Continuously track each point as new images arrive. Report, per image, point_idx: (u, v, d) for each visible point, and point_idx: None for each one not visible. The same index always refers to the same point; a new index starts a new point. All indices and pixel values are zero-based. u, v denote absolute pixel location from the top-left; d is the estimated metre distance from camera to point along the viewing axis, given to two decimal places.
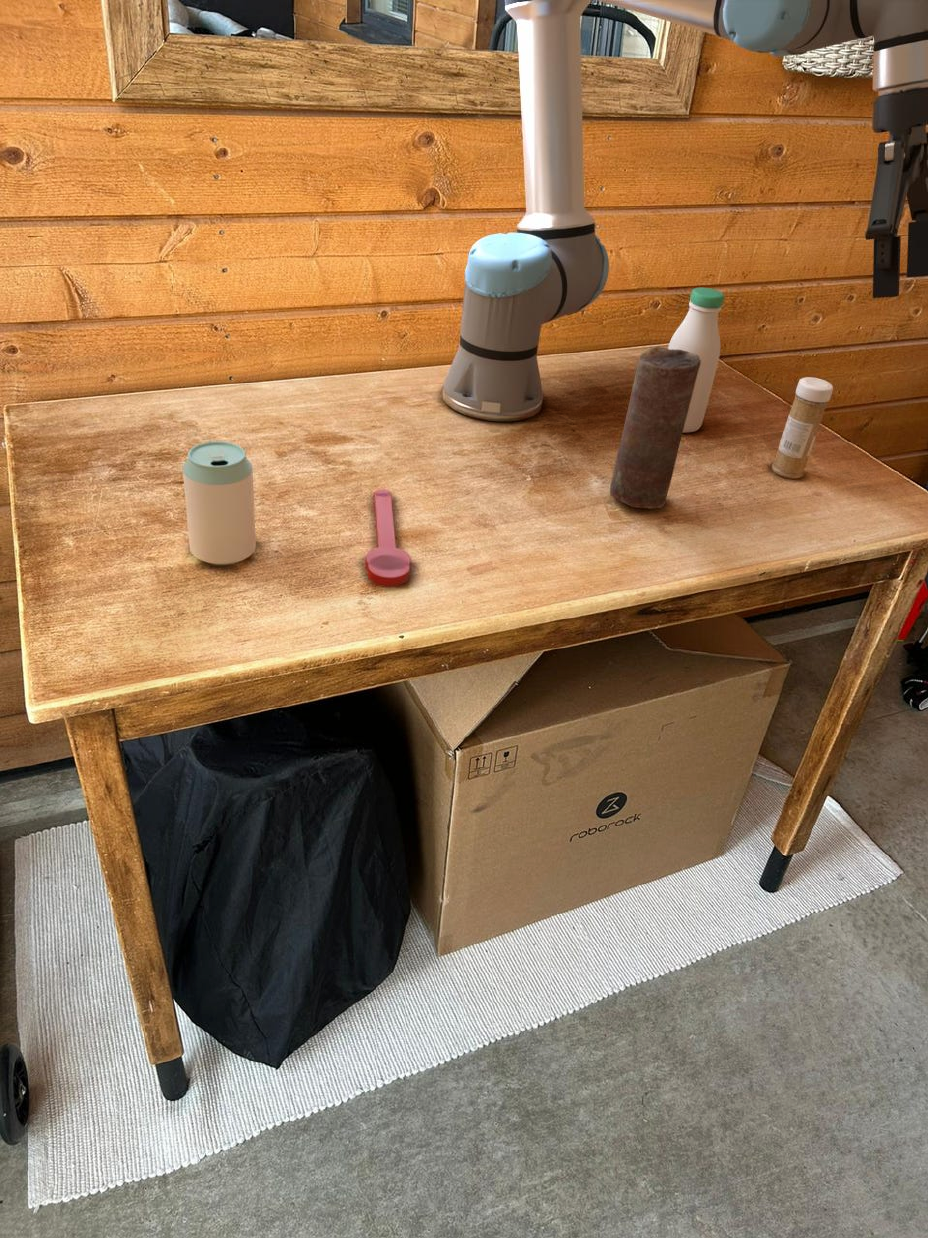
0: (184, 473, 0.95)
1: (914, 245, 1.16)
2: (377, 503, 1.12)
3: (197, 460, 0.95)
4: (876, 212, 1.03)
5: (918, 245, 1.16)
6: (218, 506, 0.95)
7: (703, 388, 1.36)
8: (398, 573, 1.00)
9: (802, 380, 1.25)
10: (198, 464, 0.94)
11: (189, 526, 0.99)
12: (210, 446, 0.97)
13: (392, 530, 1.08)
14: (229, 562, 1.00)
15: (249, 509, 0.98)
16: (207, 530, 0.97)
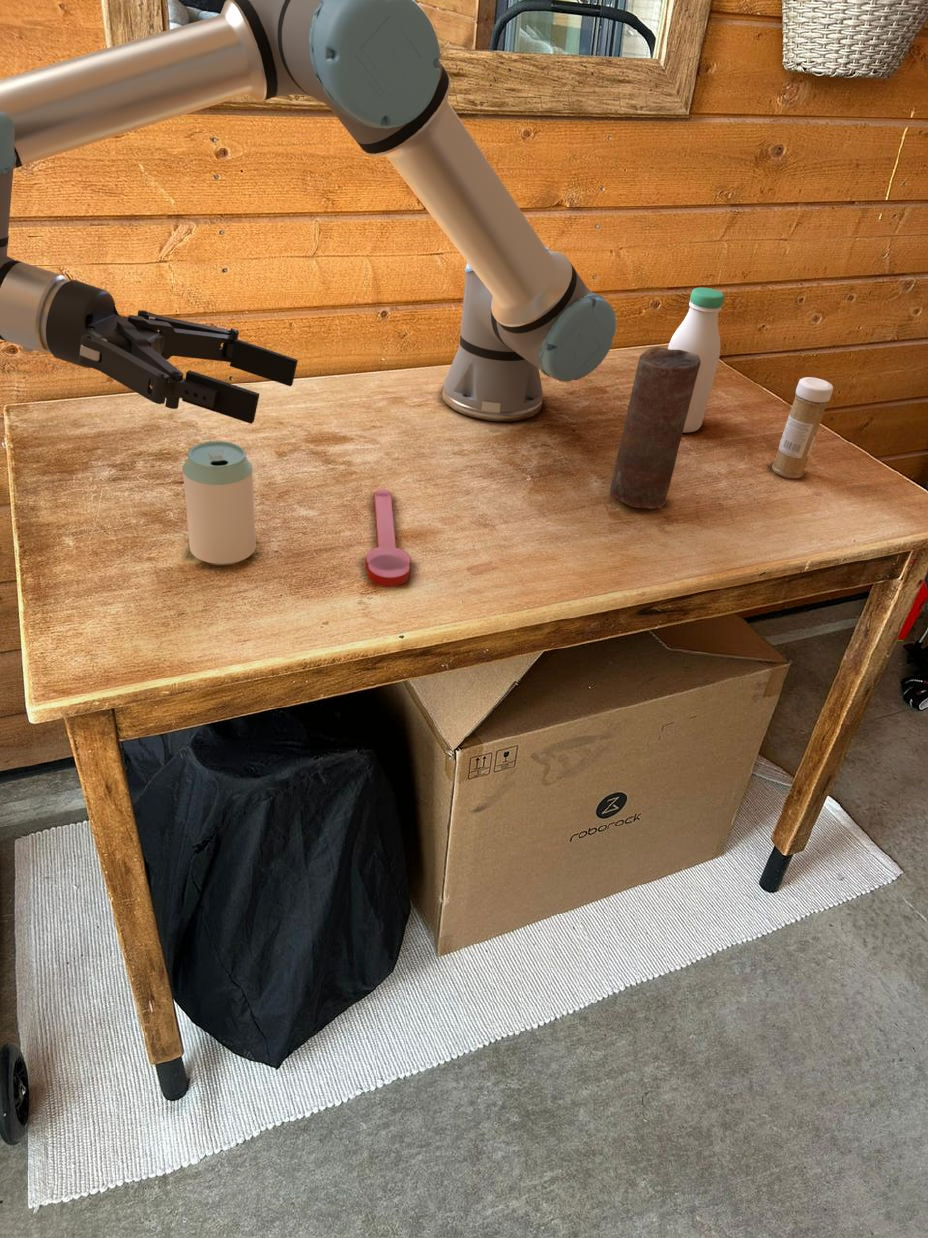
0: (184, 473, 0.95)
1: None
2: (377, 503, 1.12)
3: (197, 460, 0.95)
4: None
5: None
6: (218, 506, 0.95)
7: (703, 388, 1.36)
8: (398, 573, 1.00)
9: (802, 380, 1.25)
10: (198, 464, 0.94)
11: (189, 526, 0.99)
12: (210, 446, 0.97)
13: (392, 530, 1.08)
14: (229, 562, 1.00)
15: (249, 509, 0.98)
16: (207, 530, 0.97)
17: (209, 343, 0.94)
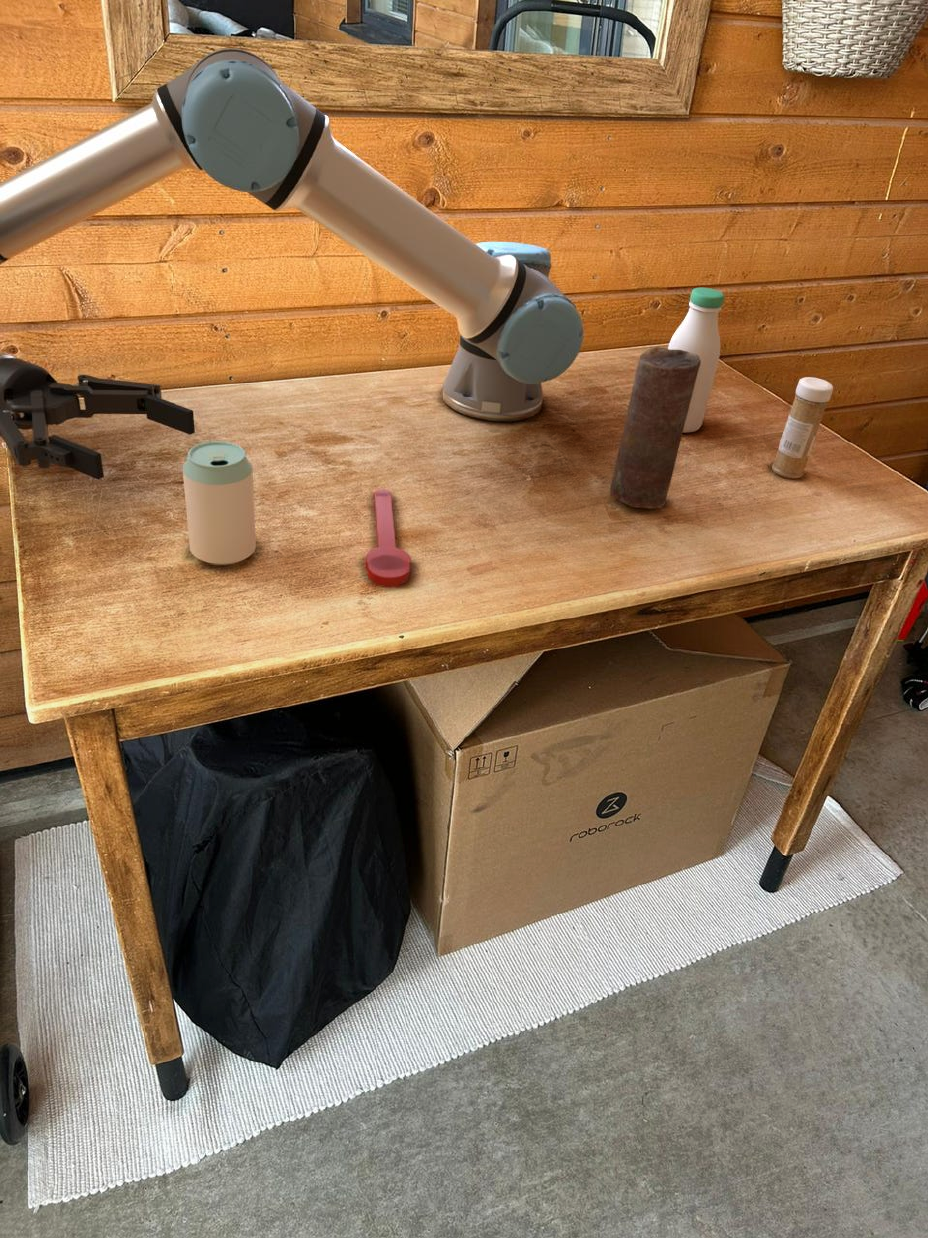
0: (184, 473, 0.95)
1: None
2: (377, 503, 1.12)
3: (197, 460, 0.95)
4: None
5: None
6: (218, 506, 0.95)
7: (703, 388, 1.36)
8: (398, 573, 1.00)
9: (802, 380, 1.25)
10: (198, 464, 0.94)
11: (189, 526, 0.99)
12: (210, 446, 0.97)
13: (392, 530, 1.08)
14: (229, 562, 1.00)
15: (249, 509, 0.98)
16: (207, 530, 0.97)
17: (125, 400, 1.07)
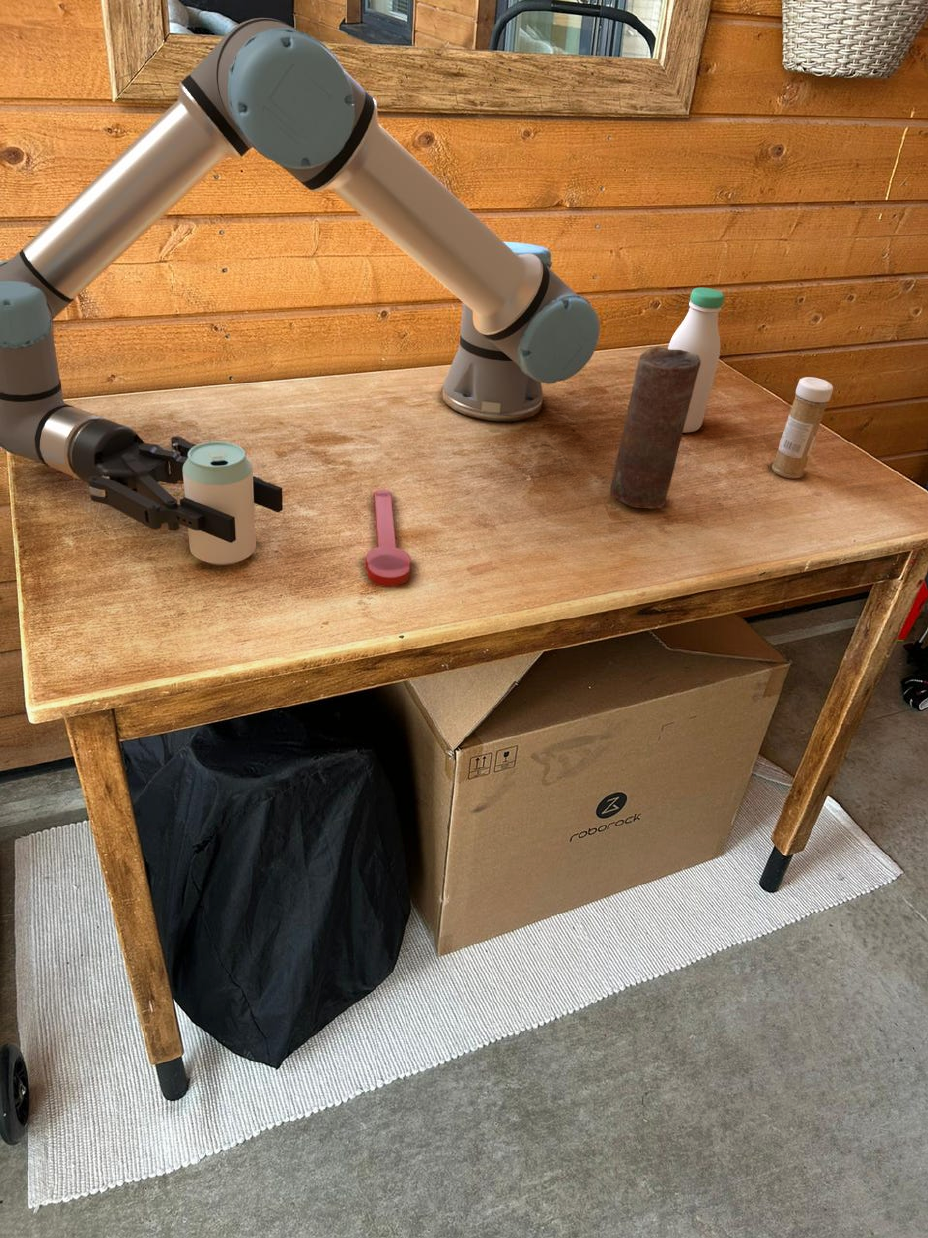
0: (184, 473, 0.95)
1: None
2: (377, 503, 1.12)
3: (197, 460, 0.95)
4: None
5: None
6: (218, 506, 0.95)
7: (703, 388, 1.36)
8: (398, 573, 1.00)
9: (802, 380, 1.25)
10: (198, 464, 0.94)
11: None
12: (210, 446, 0.97)
13: (392, 530, 1.08)
14: (229, 562, 1.00)
15: (249, 509, 0.98)
16: None
17: None
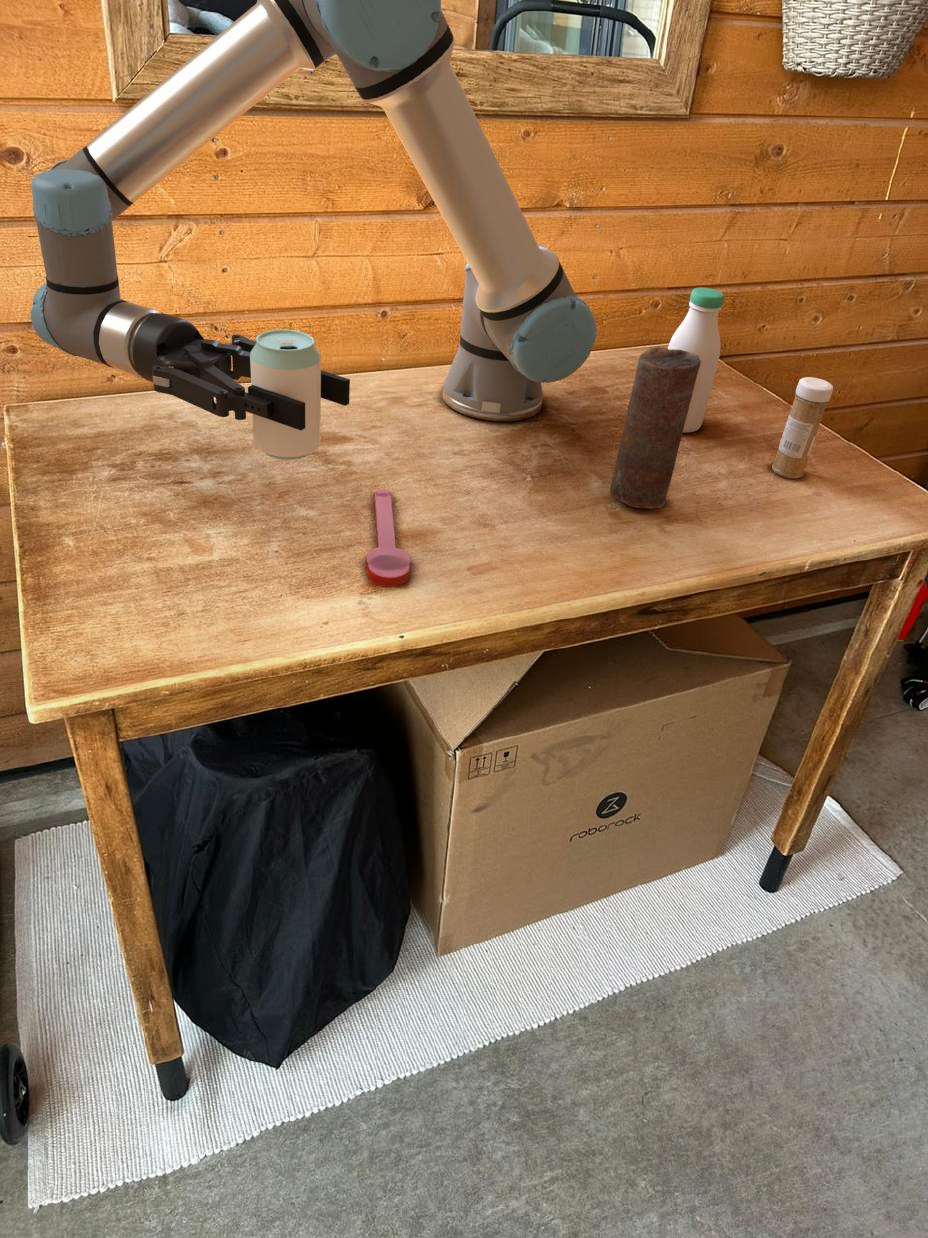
0: (252, 359, 0.93)
1: None
2: (377, 503, 1.12)
3: (266, 345, 0.92)
4: None
5: None
6: (287, 394, 0.93)
7: (703, 388, 1.36)
8: (398, 573, 1.00)
9: (802, 380, 1.25)
10: (268, 348, 0.91)
11: (255, 417, 0.96)
12: (277, 334, 0.95)
13: (392, 530, 1.08)
14: (295, 456, 0.97)
15: (316, 399, 0.96)
16: None
17: None
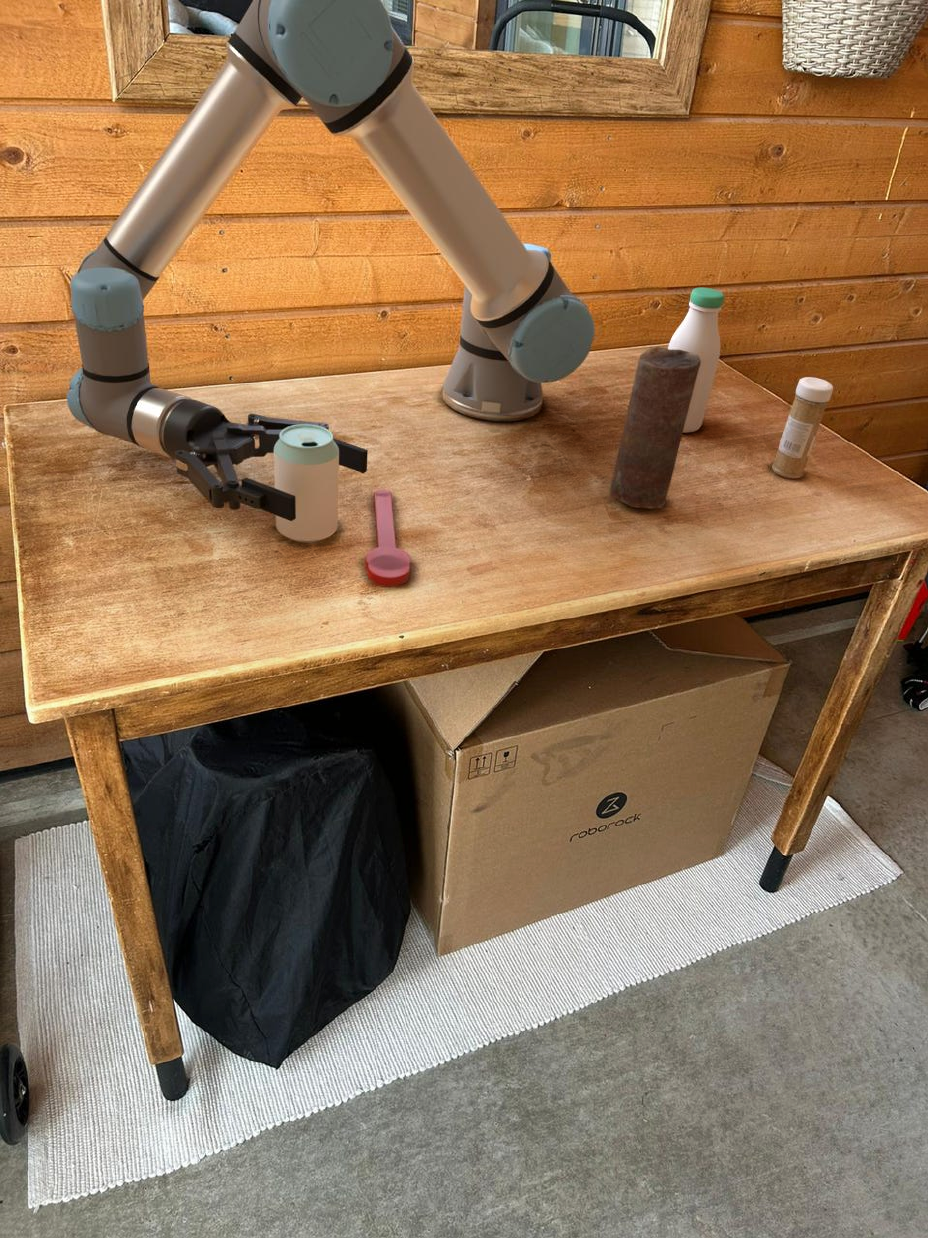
0: (276, 454, 1.00)
1: None
2: (377, 503, 1.12)
3: (289, 441, 1.00)
4: None
5: None
6: (308, 486, 1.01)
7: (703, 388, 1.36)
8: (398, 573, 1.00)
9: (802, 380, 1.25)
10: (290, 445, 0.99)
11: None
12: (298, 429, 1.03)
13: (392, 530, 1.08)
14: (315, 539, 1.05)
15: (335, 488, 1.03)
16: (296, 508, 1.02)
17: None
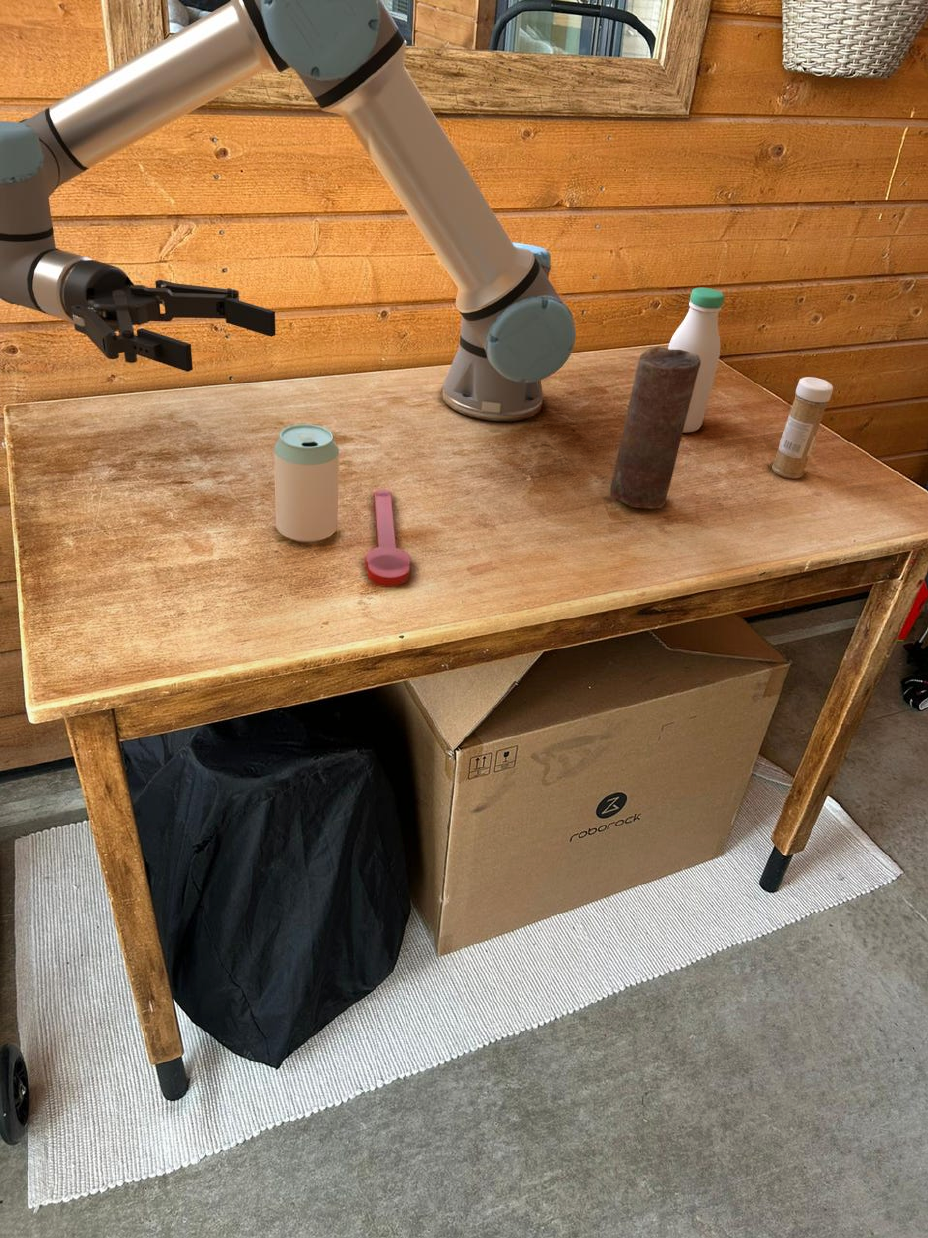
0: (276, 454, 1.00)
1: None
2: (377, 503, 1.12)
3: (289, 441, 1.00)
4: None
5: None
6: (308, 486, 1.01)
7: (703, 388, 1.36)
8: (398, 573, 1.00)
9: (802, 380, 1.25)
10: (290, 445, 0.99)
11: (277, 505, 1.04)
12: (298, 429, 1.03)
13: (392, 530, 1.08)
14: (315, 539, 1.05)
15: (335, 488, 1.03)
16: (296, 508, 1.02)
17: (205, 303, 1.06)
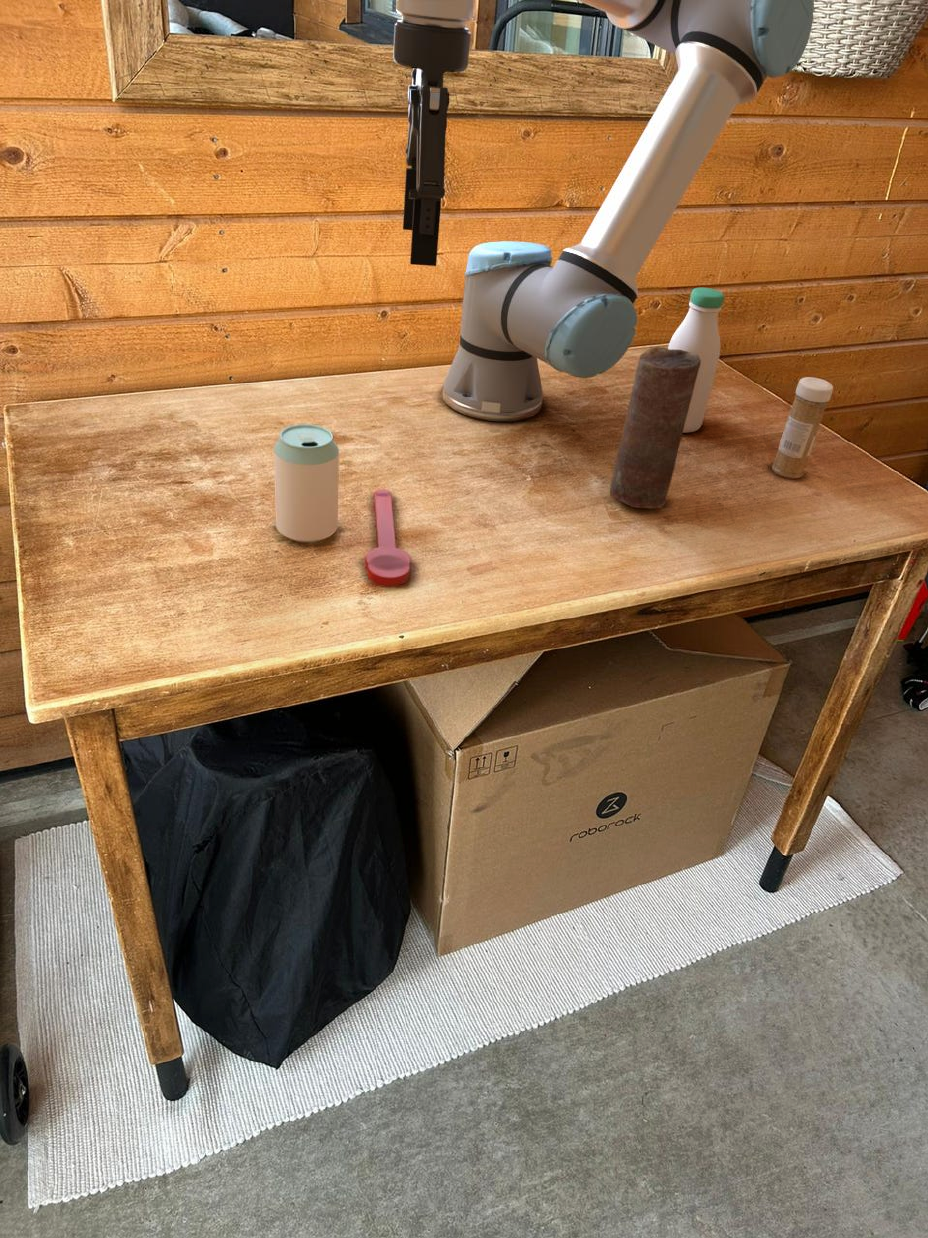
0: (276, 454, 1.00)
1: None
2: (377, 503, 1.12)
3: (289, 441, 1.00)
4: None
5: None
6: (308, 486, 1.01)
7: (703, 388, 1.36)
8: (398, 573, 1.00)
9: (802, 380, 1.25)
10: (290, 445, 0.99)
11: (277, 505, 1.04)
12: (298, 429, 1.03)
13: (392, 530, 1.08)
14: (315, 539, 1.05)
15: (335, 488, 1.03)
16: (296, 508, 1.02)
17: None
